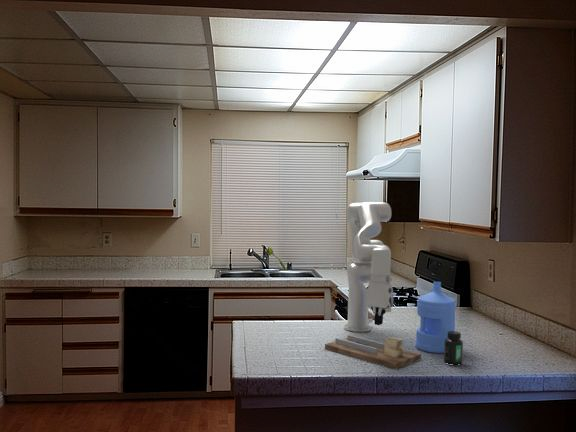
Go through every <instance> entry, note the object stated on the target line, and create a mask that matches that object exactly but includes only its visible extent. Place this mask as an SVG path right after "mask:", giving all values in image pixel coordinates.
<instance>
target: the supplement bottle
mask: <svg viewBox="0 0 576 432" xmlns="http://www.w3.org/2000/svg"><path fill="white" fill-rule="evenodd" d="M461 335H462V334H461V332H460V331H456V330H455V331H448V335H447V337H448V338H447V339H445V343H444V353H443V363H444V362H445V363H448V364H453V365H458V364H462V365H463V358H464V356H463V355H464V342H463V340H462V339H461V338H462V336H461ZM445 363H444V364H445ZM448 364H447V365H448Z"/></svg>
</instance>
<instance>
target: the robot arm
mask: <svg viewBox="0 0 576 432" xmlns="http://www.w3.org/2000/svg"><path fill="white" fill-rule="evenodd" d="M346 216H347V221H348V223H349V224H348V225H349V228H350V255H351V258H352V259H354V260H357V262H353V263H351V264H348V266H347V271H346V274H347V283H348V293H347V294H348V296H347V297H348V299H347V323H346V324H344V326H343V328H344V330H346V331H349V332H355V333H367V332H370V331H371V330H372V327H371V326H370V325H369V324H371V323H373V321H374V325H376V326H381V325H383V322H384V315H385V314H387V313H391V312H392V308H393V307H394V290H393V289H394V288H393V284H392V282H393V278H392V277H391V262H392V251H391V249H390V247H389V246H388V245H386V244H384V242H383V241H381V240H379V239H372V238H375V237H377V236H379V235H380V233H381V232H382V224H381V223H382V222H389V221H390V220H391V218H392V207H391V205H390V204H389V203H388V202H383V201H382V202H379V201H367V202H366V201H365V202H353V203H350V204H348V206H347V209H346ZM365 284H368V285H367V287H366V286H365ZM369 309H370V310H371V311H372V314H373V315H374V319H373V318H369Z"/></svg>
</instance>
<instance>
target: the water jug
mask: <svg viewBox="0 0 576 432" xmlns="http://www.w3.org/2000/svg"><path fill="white" fill-rule="evenodd" d="M441 284H442V282H441V281H433V286H432V291H430V292H429V293H426V294H424V295H421V296H419V297H417V301H416V302H417V303H416V308H417V309H416V310H417V311H416V312H417V313H416V314H417V316H419V317H420V325H419V327H418V328H417V329H416V332H415V334H416V335H415V336H416V338H415V347H416V348H418V349H419V350H420V351H423V352H426V351H427V353H431V352H433V353H432V354H444V343H445V339H447V338H448V337H447V335H448V331H456V310H457V309H456V308H457V305H456V300H455V299H454V298H452V297H451V296H449V295H447V294H445V293H444V292H442V291H441V289H442V285H441Z"/></svg>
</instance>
